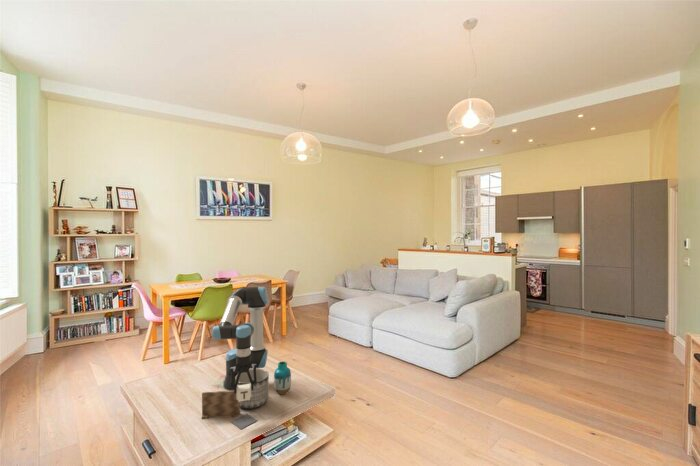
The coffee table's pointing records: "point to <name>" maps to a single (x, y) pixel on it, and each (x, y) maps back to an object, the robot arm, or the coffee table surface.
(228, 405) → the walnut screen
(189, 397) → the coffee table surface
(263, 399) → the planter
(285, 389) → the vase
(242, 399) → the cream cube
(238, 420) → the mat
